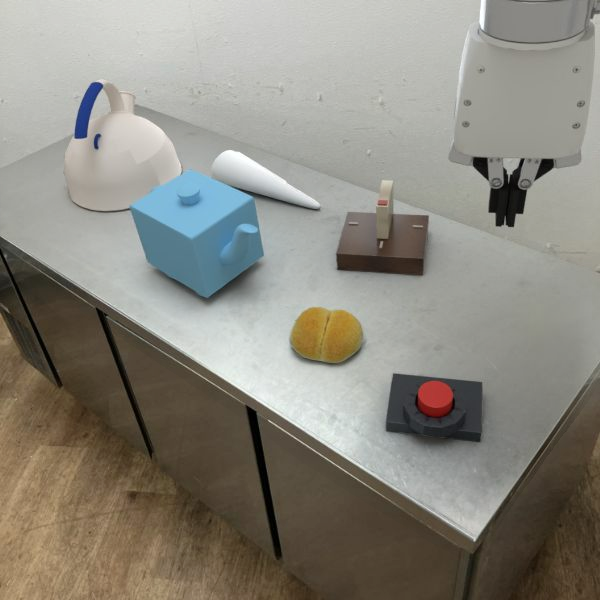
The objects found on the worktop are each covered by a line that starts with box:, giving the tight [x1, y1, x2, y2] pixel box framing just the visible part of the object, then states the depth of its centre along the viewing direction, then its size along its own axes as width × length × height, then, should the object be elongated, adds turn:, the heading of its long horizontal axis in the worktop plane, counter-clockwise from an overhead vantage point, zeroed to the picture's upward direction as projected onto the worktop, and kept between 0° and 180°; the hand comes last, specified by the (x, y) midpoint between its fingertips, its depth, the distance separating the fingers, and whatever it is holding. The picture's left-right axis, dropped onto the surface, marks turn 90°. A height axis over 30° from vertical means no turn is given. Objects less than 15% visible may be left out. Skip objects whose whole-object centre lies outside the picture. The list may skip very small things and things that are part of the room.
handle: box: [375, 179, 394, 239], centre depth 91 cm, size 6×2×6 cm, turn 167°
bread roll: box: [288, 306, 364, 364], centre depth 80 cm, size 8×9×4 cm
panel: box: [335, 211, 430, 276], centre depth 94 cm, size 12×12×3 cm
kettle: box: [63, 78, 183, 212], centre depth 110 cm, size 20×21×18 cm
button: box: [418, 381, 453, 418], centre depth 69 cm, size 4×4×2 cm
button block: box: [385, 373, 483, 443], centre depth 71 cm, size 10×8×4 cm
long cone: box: [210, 149, 322, 210], centre depth 106 cm, size 6×6×19 cm
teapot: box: [129, 168, 265, 299], centre depth 89 cm, size 22×11×14 cm, turn 48°
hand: (504, 217), depth 59 cm, fingers closed
